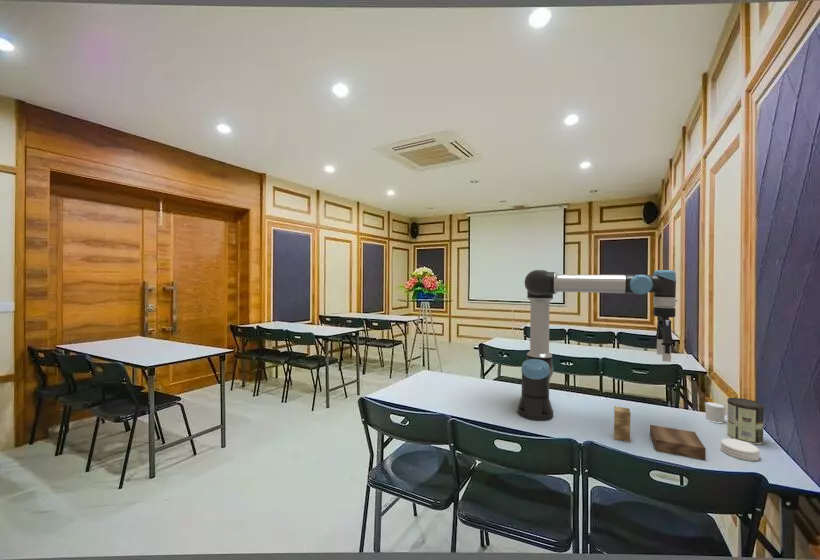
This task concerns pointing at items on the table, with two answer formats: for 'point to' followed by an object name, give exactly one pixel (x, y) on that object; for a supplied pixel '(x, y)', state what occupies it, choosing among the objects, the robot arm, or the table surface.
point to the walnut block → (677, 442)
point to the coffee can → (745, 420)
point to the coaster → (740, 449)
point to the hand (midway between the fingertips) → (663, 357)
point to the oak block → (622, 423)
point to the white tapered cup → (715, 411)
